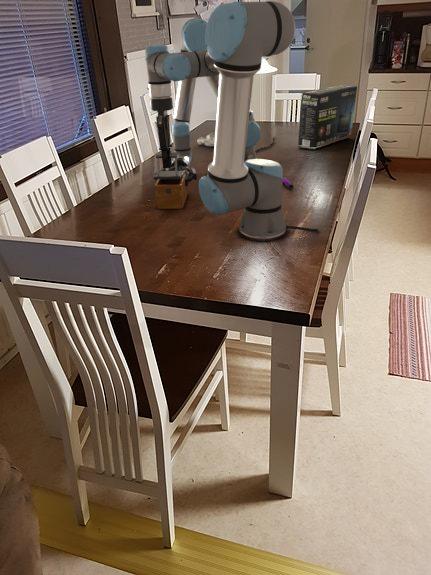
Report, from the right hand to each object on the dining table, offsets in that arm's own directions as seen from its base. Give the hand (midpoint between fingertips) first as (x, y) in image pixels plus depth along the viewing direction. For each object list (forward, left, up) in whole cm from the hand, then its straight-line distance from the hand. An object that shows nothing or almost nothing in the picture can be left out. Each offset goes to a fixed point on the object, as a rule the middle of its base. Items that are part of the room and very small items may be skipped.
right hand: (167, 166), depth 165 cm
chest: (+2, -4, -15) cm, 15 cm away
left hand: (+4, -7, -9) cm, 12 cm away
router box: (-23, -111, -15) cm, 115 cm away
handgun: (-25, -42, -15) cm, 51 cm away
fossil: (+32, -86, -15) cm, 93 cm away
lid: (+2, -3, -5) cm, 6 cm away
